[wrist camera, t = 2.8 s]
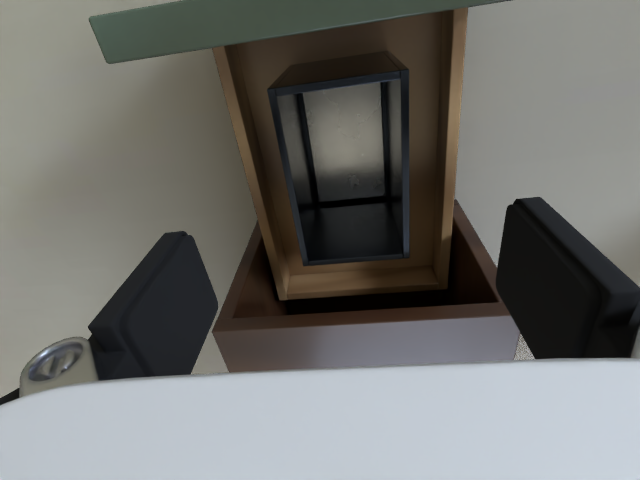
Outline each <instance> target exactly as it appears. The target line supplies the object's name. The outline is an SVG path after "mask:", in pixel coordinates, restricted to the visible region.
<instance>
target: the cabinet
mask: <svg viewBox="0 0 640 480" xmlns="http://www.w3.org/2000/svg"><path fill="white" fill-rule="evenodd" d="M496 274H497V267H496V265H495V264H494V262H493V260H492V259H491V257H490V255H489V254H488V252H487V250H486V249H485V247H484V245H483V244H482V242H481V240H480V238H479V237H478V235H477V233H476V232H475V230H474V228H473V227H472V225H471V223H470V222H469V220H468V218H467V217H466V215H465V213H464V211H463V210H462V208H461V206H460V205H459V203H458V201H457V200H456V199H454V207H453V220H452V234H451V248H450V262H449V275H448V288H447V289H444V290H439V289H438V290H429V291H414V292H399V293H383V294H368V295H353V296H338V297H323V298H308V299H293V300H279V296H278V292H277V289H276V285H275V281H274V278H273V274H272V270H271V266H270V263H269V259H268V255H267V251H266V248H265V244H264V240H263V236H262V233H261V229H260V225H259V221H258V220H257V223H256V225H255V228H254V230H253V233H252V235H251V238H250V240H249V242H248V245H247V247H246V250H245V252H244V255H243V257H242V260H241V262H240V265H239V267H238V270H237V272H236V274H235V277H234V279H233V282H232V284H231V287H230V289H229V292H228V294H227V297H226V299H225V302H224V304H223V306H222V309H221V311H220V314H219V316H218V320H216V323H215V325H214V328H213V330H212V333H213V336H214V338H215V340H216V343H217V345H218V347H219V350H220V352H221V354H222V357H223V359H224V361H225V363H226V366H227V368H228V370H229V373H231V372H251V371H270V370H291V369H312V368H334V367H356V366H378V365H401V364H426V363H450V362H475V361H500V360H514V357H515V353H516V349H517V345H518V340H519V336H520V331H519V329H518V327H517V326H516V324H515V322H514V320H513V319H512V317H511V315H510V313H509V311H508V310H507V308H506V306H505V304H504V303H503V301H502V299H501V297H500V295H499V294H498V292H497V289H496Z"/></svg>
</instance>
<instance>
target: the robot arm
mask: <svg viewBox="0 0 640 480" xmlns="http://www.w3.org/2000/svg"><path fill="white" fill-rule="evenodd" d="M496 289H497V292H498V294H499V295H500V297H501V299H502V301H503V303H504V304H505V306H506V308H507V310H508V311H509V313H510V315H511V317H512V319H513V320H514V322H515V324H516V326H517V327H518V329H519V331H520V333H521V334H522V336H523V338H524V340H525V342H526V343H527V345H528V347H529V349H530V350H531V352H532V354H533V356H534V358H535V359H532V360H500V361H475V362H450V363H426V364H401V365H378V366H356V367H334V368H312V369H291V370H270V371H251V372H231V373H212V374H193V375H190V374H191V372H192V370H193V367H194V365H195V362H196V360H197V358H198V355H199V353H200V351H201V348H202V346H203V344H204V341H205V339H206V336H207V334H208V332H209V329H210V327H211V325H212V322H213V320H214V318H215V315H216V313H217V310H218V301H217V298H216V295H215V292H214V290H213V287H212V285H211V282H210V279H209V277H208V274H207V272H206V269H205V266H204V264H203V261H202V259H201V256H200V253H199V251H198V248H197V246H196V243H195V240H194V238H193V237H192V236H191V235H188V234H187V233H186V232H184V231H180V232H169V233H165V234H163V236H162V237H161V238H160V239H159V240H158V242H157V243H156V244H155V245H154V246H153V248H152V249H151V250H150V251H149V253H148V254H147V255H146V256H145V257H144V259H143V260H142V261H141V262H140V264H139V265H138V266H137V267H136V268H135V270H134V271H133V272H132V273H131V275H130V276H129V277H128V278H127V279H126V281H125V282H124V283H123V284H122V286H121V287H120V288H119V289H118V290H117V292H116V293H115V294H114V295H113V297H112V298H111V299H110V300H109V301H108V303H107V304H106V305H105V306H104V308H103V309H102V310H101V311H100V312H99V314H98V315H97V316H96V317H95V319H94V320H93V321H92V322H91V323H90V325H89V326H88V328H89V330H90V331H91V333H92V335H91V337H90V338H89V339H88V340H87V339H85V338H83V337H71V338H66V339H63V340H61V341H58V342H56V343H53V344H52V345H50V346H48V347H46V348H45V349H43V350H42V351H40V352H39V353H38V354H36V355H35V356H34V357H33V358H32V359H31V360H30V361H29V362H28V363H27V364H26V366H25V367H24V369H23V370H22V372H21V376H20V388H18V389H16V390H14V391H13V392H11V393H9V394H7V395H5V396H4V397H2V398H0V480H640V287H638V286H637V285H636V284H635V283H634V282H633V281H632V280H631V279H630V278H629V277H627V276H626V275H625V274H624V273H623V272H622V271H621V270H620V269H619V268H618V267H617V266H615V265H614V264H613V263H612V262H611V261H610V260H609V259H608V258H607V257H606V256H604V255H603V254H602V253H601V252H600V251H599V250H598V249H597V248H596V247H595V246H593V245H592V244H591V243H590V242H589V241H588V240H587V239H586V238H585V237H584V236H583V235H581V234H580V233H579V232H578V231H577V230H576V229H575V228H574V227H573V226H572V225H570V224H569V223H568V222H567V221H566V220H565V219H564V218H563V217H562V216H561V215H560V214H558V213H557V212H556V211H555V210H554V209H553V208H552V207H551V206H550V205H549V204H547V203H546V202H545V201H544V200H543V199H542V198H540V197H533V198H523V199H516V200H515V201H514V203H513V205H509V206H508V207H507V210H506V217H505V223H504V229H503V236H502V242H501V248H500V255H499V261H498V268H497V274H496Z"/></svg>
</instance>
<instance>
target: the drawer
mask: <svg viewBox="0 0 640 480" xmlns="http://www.w3.org/2000/svg"><path fill="white" fill-rule="evenodd" d="M504 1H511V0H182V1H176V2H170V3H165V4H159V5H153V6H148V7H142V8H137V9H131V10H125V11H120V12H114V13H108V14H103V15H97V16H92V17H90V18H89V22H90V24H91V27H92V29H93V31H94V34H95V36H96V39H97V41H98V43H99V46H100V48H101V51H102V53H103V55H104V58H105V60H106V62H107V63H108V64H114V63H120V62H126V61H133V60H139V59H145V58H152V57H158V56H164V55H171V54H177V53H183V52H189V51H196V50H202V49H208V48H212V49H213V53H214V57H215V61H216V64H217V68H218V72H219V76H220V79H221V83H222V87H223V91H224V94H225V98H226V102H227V106H228V109H229V113H230V117H231V121H232V124H233V128H234V132H235V135H236V139H237V143H238V147H239V150H240V154H241V158H242V162H243V165H244V169H245V173H246V177H247V180H248V184H249V188H250V192H251V195H252V199H253V203H254V207H255V210H256V214H257V218H258V221H259V225H260V229H261V233H262V236H263V240H264V244H265V248H266V251H267V255H268V259H269V263H270V266H271V270H272V274H273V278H274V281H275V285H276V289H277V292H278V296H279V300H293V299H308V298H323V297H338V296H353V295H368V294H383V293H399V292H414V291H429V290H438V289H439V290H444V289H447V288H448V275H449V262H450V248H451V234H452V220H453V207H454V193H455V179H456V165H457V152H458V138H459V124H460V110H461V97H462V83H463V69H464V55H465V42H466V28H467V14H468V7H473V6H479V5H485V4H492V3H498V2H504ZM381 51H390V52H391V53H392V54H393V55H394V56H395V57H396V58H397V59H398V60H399V61H401V62H402V63H403V64H404V65H405V66H406V67H407V68H408V69H409V194H410V258H406V259H393V260H381V261H368V262H355V263H342V264H329V265H316V266H303V263H302V258H301V253H300V249H299V244H298V239H297V234H296V229H295V224H294V219H293V214H292V210H291V205H290V200H289V195H288V190H287V185H286V180H285V175H284V171H283V166H282V161H281V156H280V151H279V146H278V141H277V137H276V132H275V127H274V122H273V117H272V112H271V107H270V102H269V98H268V93H267V89H268V88H269V87H270V86H271V85H272V83H273V82H274V81H275V80H276V79H277V78H278V77H279V76H280V75H281V74H282V73H283V72H284V71H285V70H286V69H287V68H288V67H289V66H290V65H294V64H300V63H307V62H314V61H320V60H327V59H334V58H341V57H347V56H354V55H361V54H368V53H374V52H381Z"/></svg>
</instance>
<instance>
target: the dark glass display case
mask: <svg viewBox="0 0 640 480" xmlns="http://www.w3.org/2000/svg"><path fill="white" fill-rule="evenodd" d="M267 93H268V98H269V102H270V107H271V112H272V117H273V122H274V127H275V132H276V137H277V141H278V146H279V151H280V156H281V161H282V166H283V171H284V175H285V180H286V185H287V190H288V195H289V200H290V205H291V210H292V214H293V219H294V224H295V229H296V234H297V239H298V244H299V249H300V253H301V258H302V263H303V266H316V265H329V264H342V263H355V262H368V261H381V260H393V259H406V258H410V194H409V69H408V68H407V67H406V66H405V65H404V64H403V63H402V62H401V61H399V60H398V59H397V58H396V57H395V56H394V55H393V54H392V53H391V52H390V51H381V52H374V53H368V54H361V55H354V56H347V57H341V58H334V59H327V60H320V61H314V62H307V63H300V64H294V65H290V66H289V67H288V68H287V69H286V70H285V71H284V72H283V73H282V74H281V75H280V76H279V77H278V78H277V79H276V80H275V81H274V82H273V83H272V85H271V86H270V87H269V88H268V89H267Z"/></svg>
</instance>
